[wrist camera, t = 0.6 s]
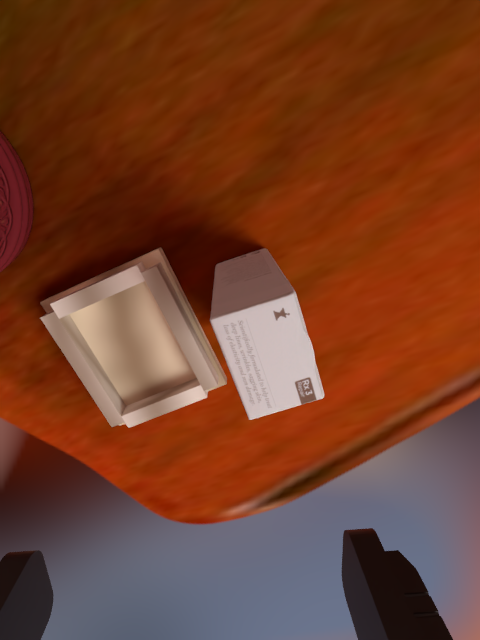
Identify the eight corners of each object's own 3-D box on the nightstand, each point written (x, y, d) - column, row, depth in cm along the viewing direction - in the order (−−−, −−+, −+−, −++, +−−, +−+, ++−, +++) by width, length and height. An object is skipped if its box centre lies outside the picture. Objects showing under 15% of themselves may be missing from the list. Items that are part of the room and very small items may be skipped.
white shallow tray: (161, 247, 27) (154, 252, 25) (226, 378, 31) (226, 393, 29) (46, 298, 29) (29, 308, 26) (122, 418, 32) (114, 437, 30)
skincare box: (213, 264, 28) (198, 316, 16) (269, 245, 27) (294, 284, 16) (238, 335, 30) (241, 426, 18) (291, 318, 29) (328, 401, 18)
